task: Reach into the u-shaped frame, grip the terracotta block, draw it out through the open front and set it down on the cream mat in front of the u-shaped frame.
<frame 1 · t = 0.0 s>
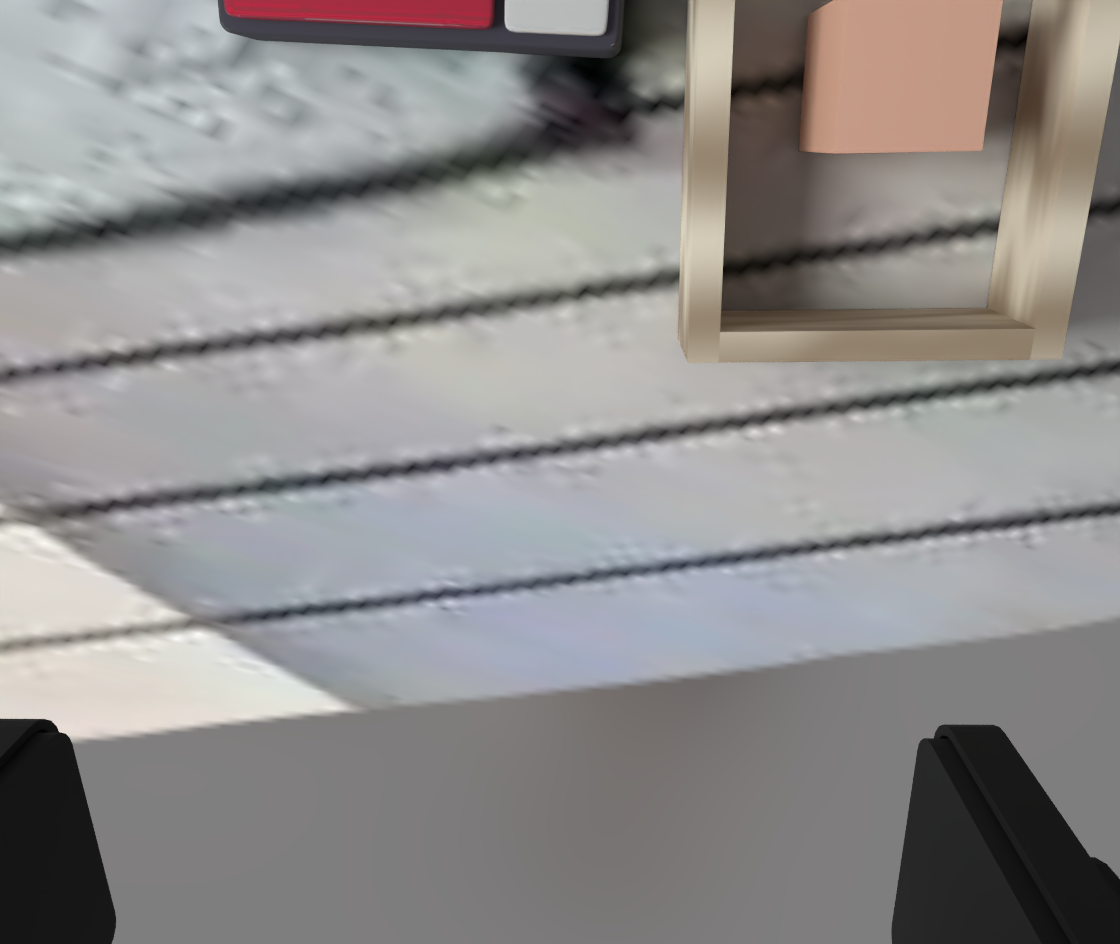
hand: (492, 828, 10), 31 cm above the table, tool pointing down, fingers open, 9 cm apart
block: (866, 83, 35), on the table
u-shaped frame: (862, 136, 36), on the table
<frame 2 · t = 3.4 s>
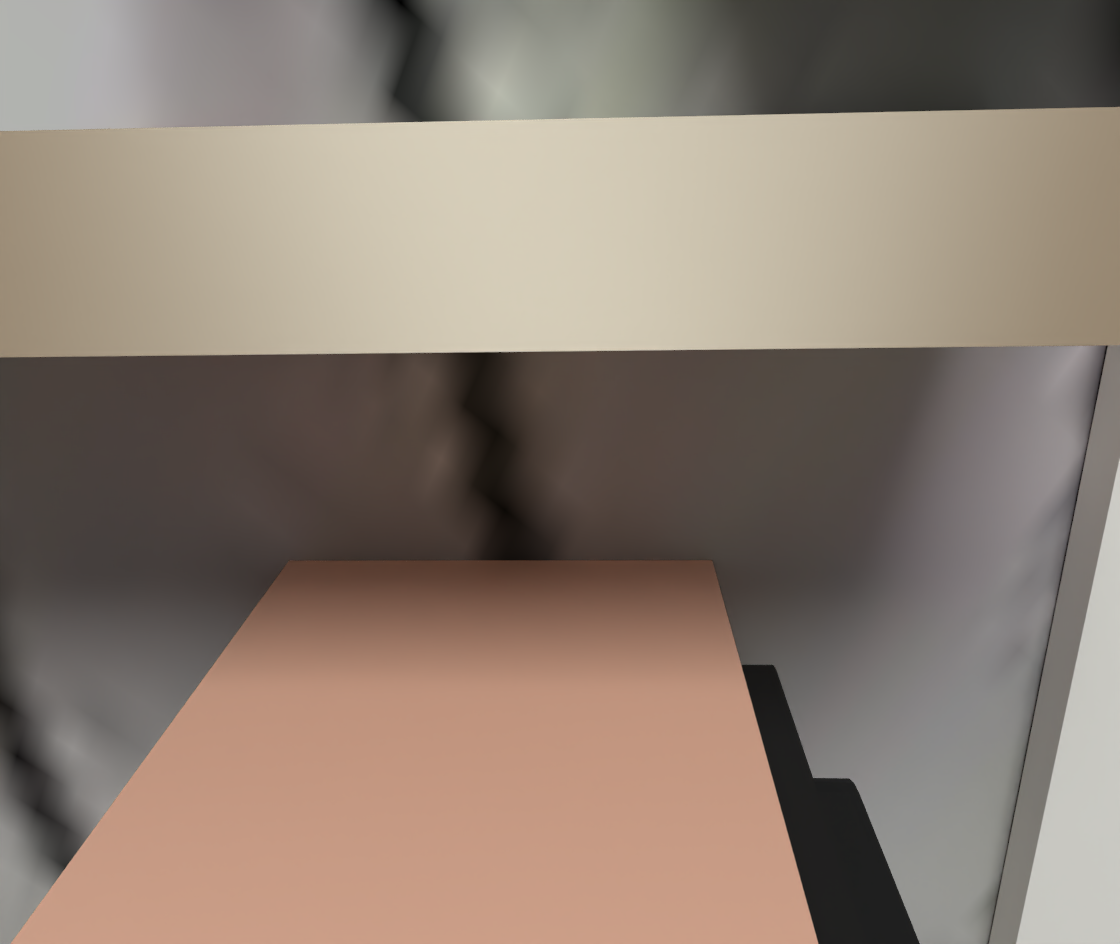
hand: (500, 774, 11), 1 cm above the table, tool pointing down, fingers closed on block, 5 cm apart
block: (506, 737, 11), on the table, touching gripper
u-shaped frame: (350, 736, 11), on the table
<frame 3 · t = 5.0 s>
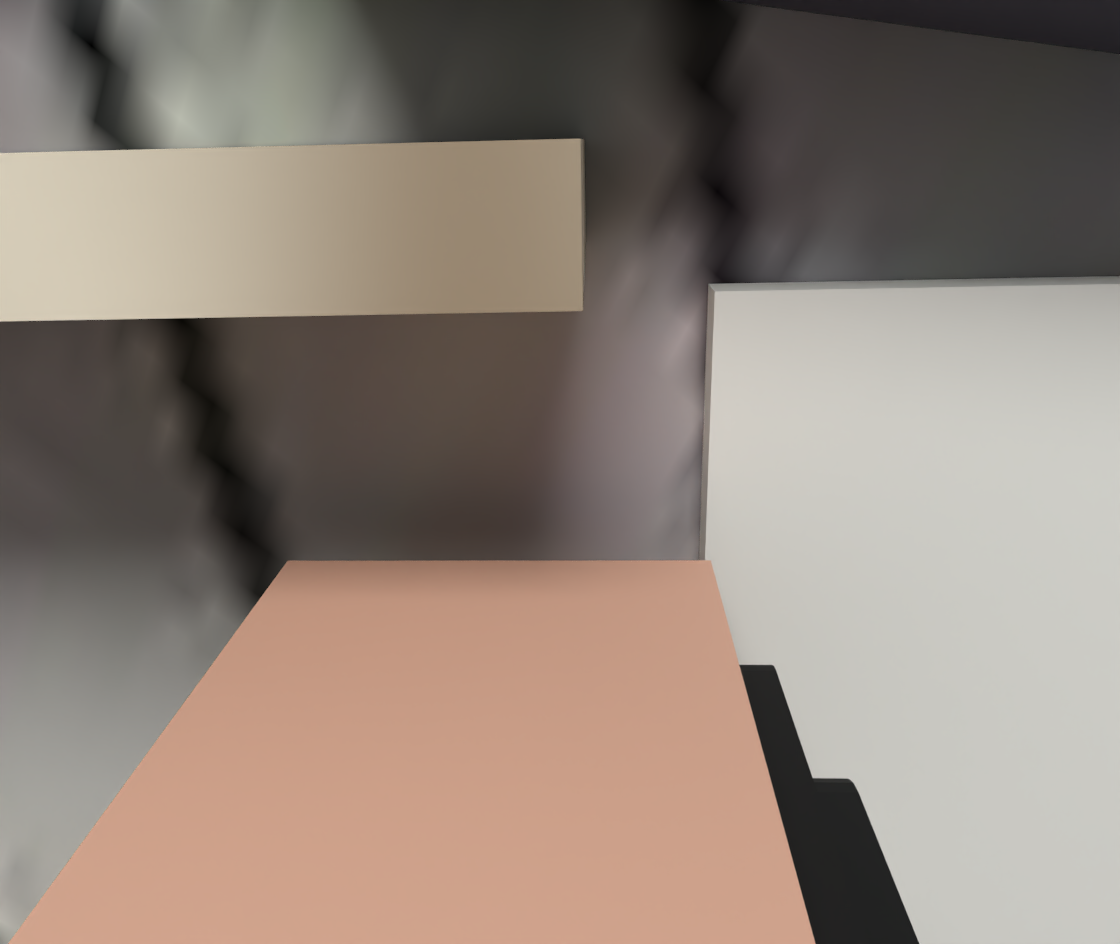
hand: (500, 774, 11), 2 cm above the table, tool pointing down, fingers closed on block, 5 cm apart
mat: (1012, 667, 13), on the table
block: (505, 737, 11), point 2 cm above the table, touching gripper
u-shaped frame: (118, 670, 13), on the table
when the fingers open (2 cm above the table, at t = 7.0 s): block stays where it is, resting on mat.
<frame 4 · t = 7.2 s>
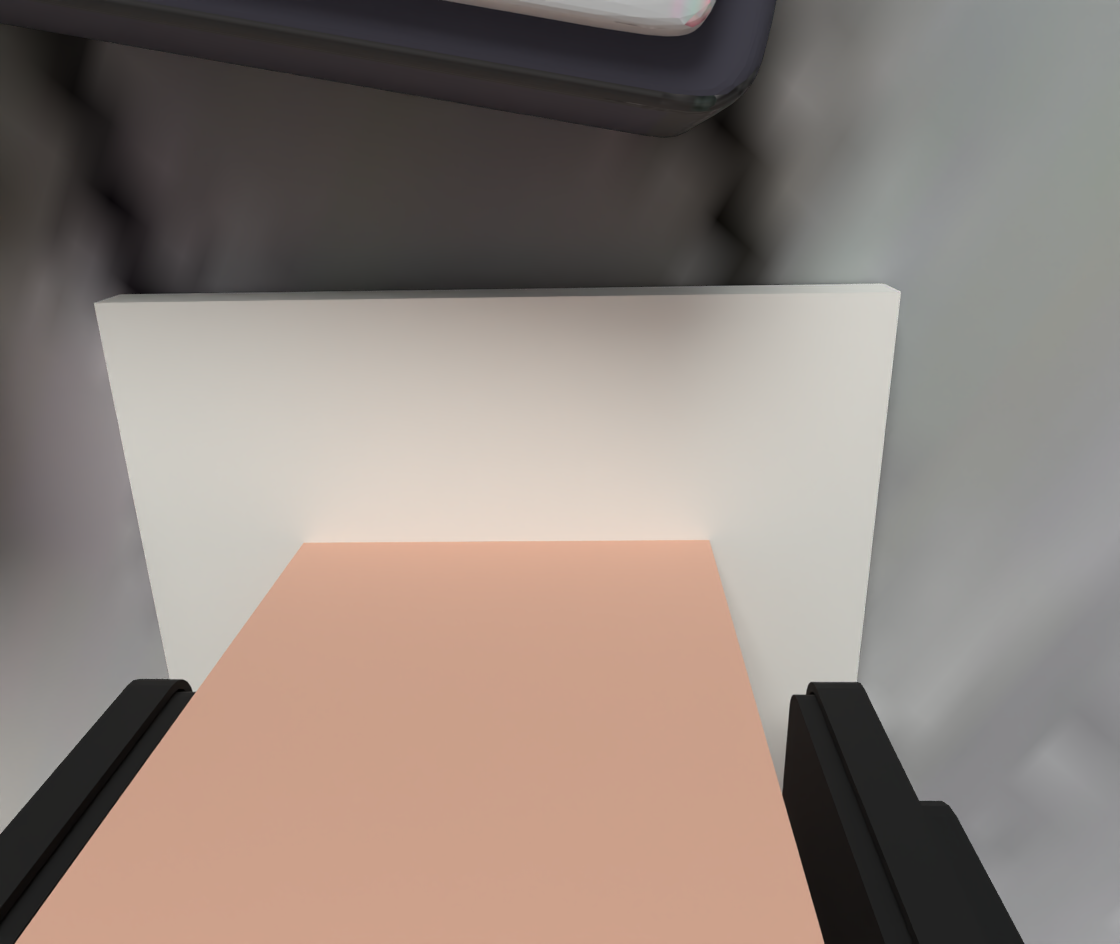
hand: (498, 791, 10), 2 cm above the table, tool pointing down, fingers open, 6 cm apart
mat: (513, 687, 12), on the table
block: (513, 712, 12), point 1 cm above the table, touching mat
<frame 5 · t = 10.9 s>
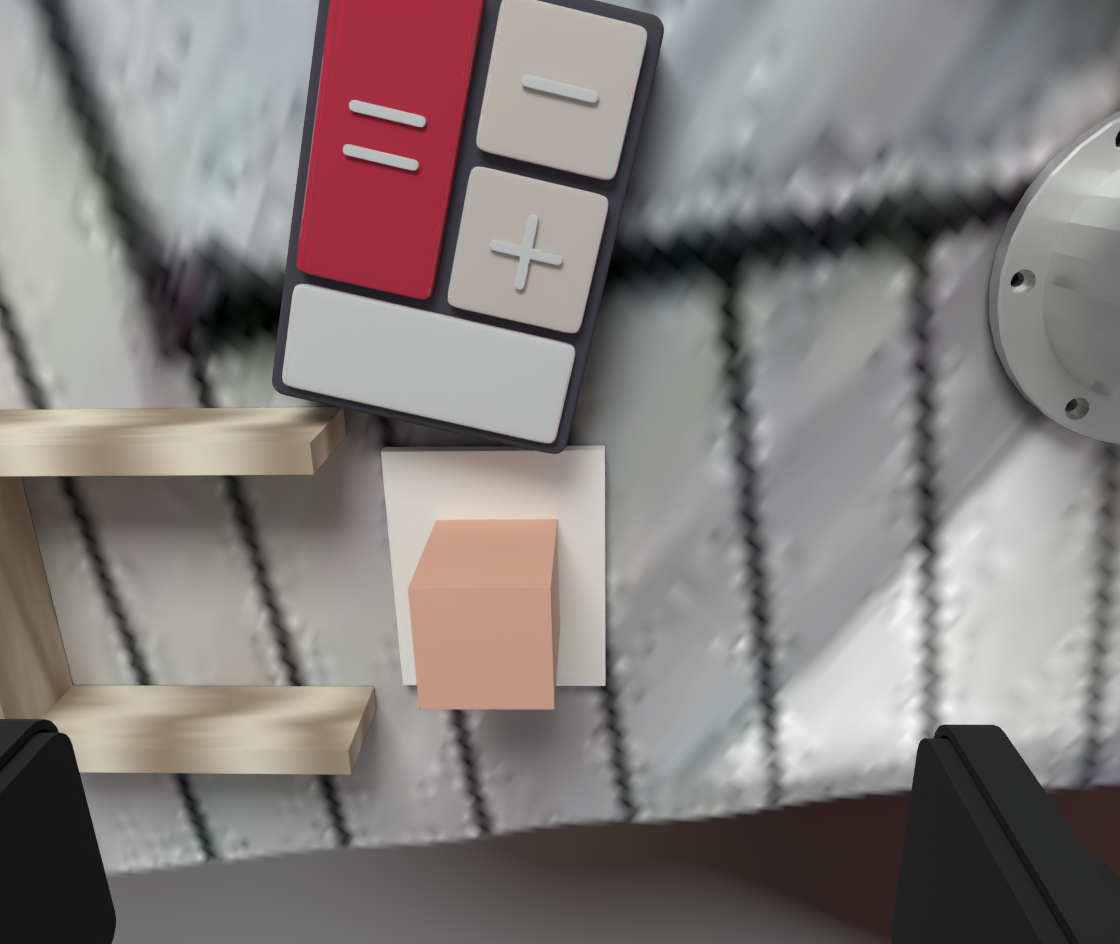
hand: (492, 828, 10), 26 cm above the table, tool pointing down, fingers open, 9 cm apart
mat: (499, 567, 38), on the table
block: (499, 573, 38), point 1 cm above the table, touching mat
calculator: (468, 212, 34), on the table
u-shaped frame: (201, 568, 39), on the table
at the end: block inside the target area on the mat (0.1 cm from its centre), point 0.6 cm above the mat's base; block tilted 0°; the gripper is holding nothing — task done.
